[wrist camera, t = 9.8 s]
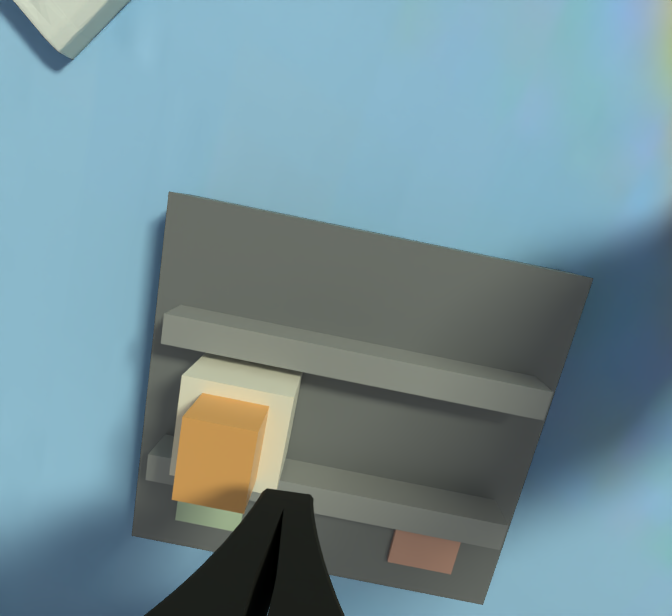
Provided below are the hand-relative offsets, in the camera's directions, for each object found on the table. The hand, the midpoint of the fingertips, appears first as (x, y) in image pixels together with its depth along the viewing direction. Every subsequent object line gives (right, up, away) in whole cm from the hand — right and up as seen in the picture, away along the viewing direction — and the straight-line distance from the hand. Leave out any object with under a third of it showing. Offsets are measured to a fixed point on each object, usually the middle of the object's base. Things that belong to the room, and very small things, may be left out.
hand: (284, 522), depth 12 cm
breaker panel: (+2, +2, +9) cm, 9 cm away
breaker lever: (-2, +2, +6) cm, 7 cm away
